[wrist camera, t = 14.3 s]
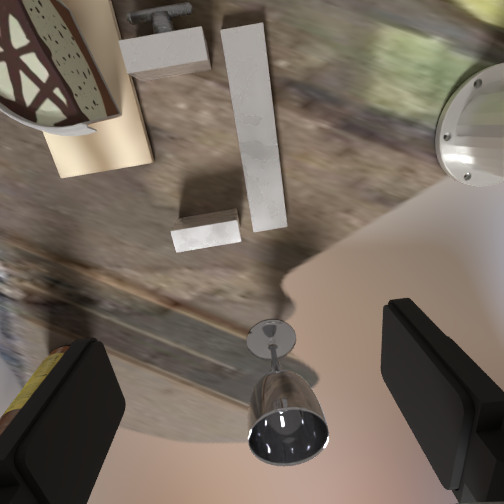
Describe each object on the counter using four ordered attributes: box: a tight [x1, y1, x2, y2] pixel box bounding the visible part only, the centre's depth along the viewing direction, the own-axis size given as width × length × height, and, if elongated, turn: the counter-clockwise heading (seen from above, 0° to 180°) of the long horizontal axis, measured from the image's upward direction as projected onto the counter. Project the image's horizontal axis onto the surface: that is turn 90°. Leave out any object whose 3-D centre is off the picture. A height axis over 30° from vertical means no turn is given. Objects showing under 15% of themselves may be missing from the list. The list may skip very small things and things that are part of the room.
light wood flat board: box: [43, 0, 155, 178], centre depth 30 cm, size 10×18×1 cm, turn 9°
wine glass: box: [247, 319, 329, 466], centre depth 37 cm, size 8×8×15 cm
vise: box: [118, 2, 287, 252], centre depth 31 cm, size 12×22×5 cm, turn 9°
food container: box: [0, 0, 122, 136], centre depth 25 cm, size 12×6×10 cm, turn 20°
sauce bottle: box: [0, 346, 70, 435], centre depth 34 cm, size 6×6×20 cm
